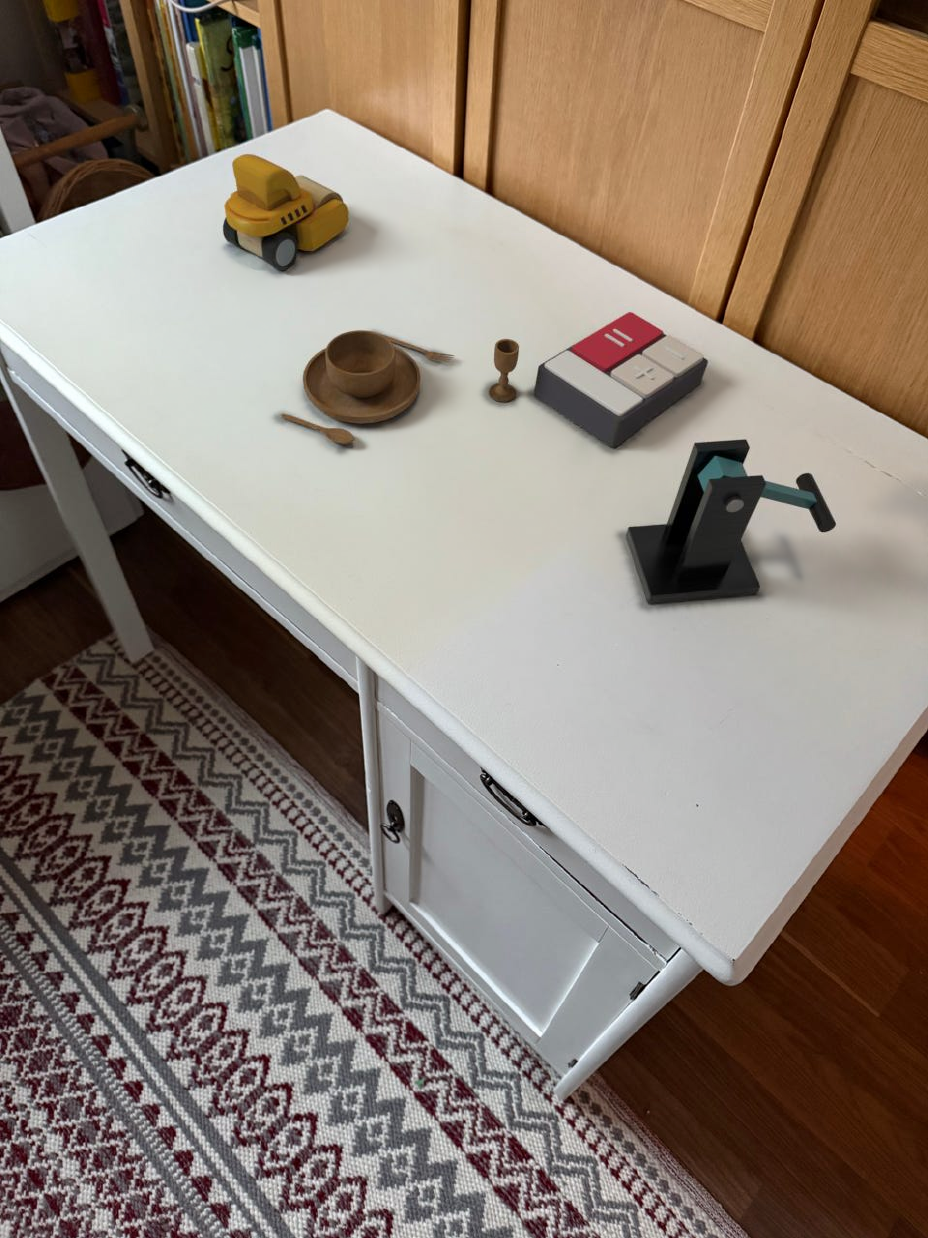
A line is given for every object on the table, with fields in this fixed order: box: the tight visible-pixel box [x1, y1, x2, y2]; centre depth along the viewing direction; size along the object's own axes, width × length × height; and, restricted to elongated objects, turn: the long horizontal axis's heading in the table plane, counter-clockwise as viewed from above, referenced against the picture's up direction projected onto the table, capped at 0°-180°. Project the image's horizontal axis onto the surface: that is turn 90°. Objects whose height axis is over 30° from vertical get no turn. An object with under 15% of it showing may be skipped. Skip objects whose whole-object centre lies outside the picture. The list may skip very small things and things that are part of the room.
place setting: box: [280, 329, 520, 445], centre depth 90 cm, size 18×20×6 cm
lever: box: [698, 456, 837, 533], centre depth 75 cm, size 12×6×2 cm, turn 99°
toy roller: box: [222, 153, 350, 271], centre depth 104 cm, size 9×14×10 cm, turn 142°
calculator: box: [533, 311, 709, 448], centre depth 94 cm, size 11×4×15 cm
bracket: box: [625, 438, 766, 605], centre depth 77 cm, size 10×8×13 cm
